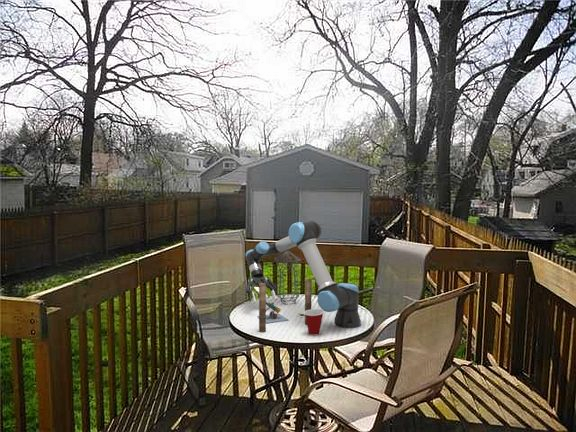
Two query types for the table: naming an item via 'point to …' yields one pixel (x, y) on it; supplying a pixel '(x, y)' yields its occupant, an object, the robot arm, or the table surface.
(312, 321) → the plastic cup
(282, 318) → the grey mat
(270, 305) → the binoculars
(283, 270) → the geometric lantern
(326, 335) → the table surface
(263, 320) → the post gap
